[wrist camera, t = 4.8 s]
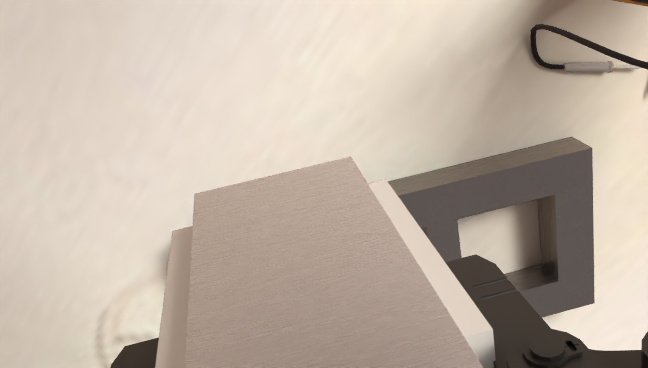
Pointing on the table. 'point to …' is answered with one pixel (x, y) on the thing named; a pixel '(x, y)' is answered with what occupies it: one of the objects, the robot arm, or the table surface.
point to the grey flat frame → (510, 189)
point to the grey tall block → (311, 280)
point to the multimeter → (584, 67)
